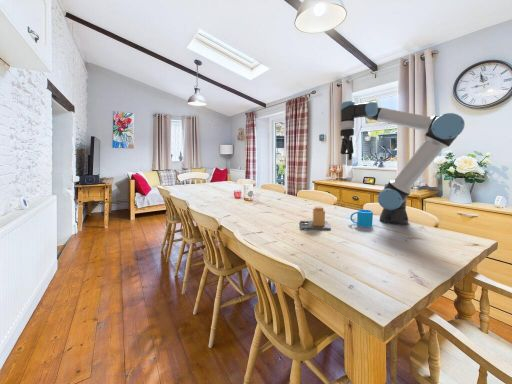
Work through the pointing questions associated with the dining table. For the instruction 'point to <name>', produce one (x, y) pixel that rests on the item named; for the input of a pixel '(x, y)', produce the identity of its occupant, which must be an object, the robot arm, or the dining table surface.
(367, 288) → the dining table surface
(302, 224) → the plate
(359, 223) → the mug
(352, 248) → the dining table surface
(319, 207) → the brown rectangular block
